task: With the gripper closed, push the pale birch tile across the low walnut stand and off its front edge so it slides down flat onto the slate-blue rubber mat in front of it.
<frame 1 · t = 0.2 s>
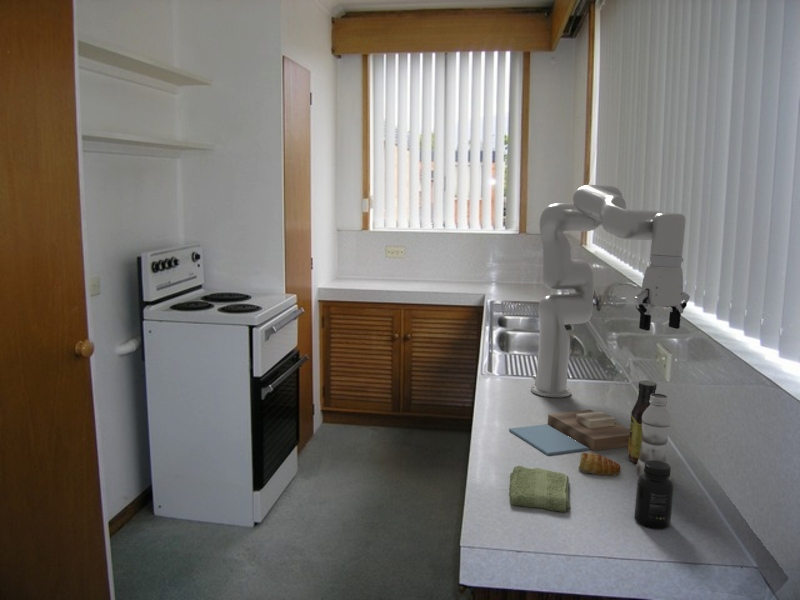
hand: (659, 328, 181), 30 cm above the table, tool pointing down, fingers open, 9 cm apart
birch tile: (595, 423, 189), point 3 cm above the table, touching walnut stand
plastic bottle: (650, 481, 161), on the table
washcloth: (538, 494, 153), on the table
supplement bottle: (651, 522, 141), on the table
walnut stand: (591, 434, 189), on the table
rubber mat: (547, 439, 184), on the table
sauce bottle: (640, 461, 172), on the table
pastry: (595, 471, 166), on the table
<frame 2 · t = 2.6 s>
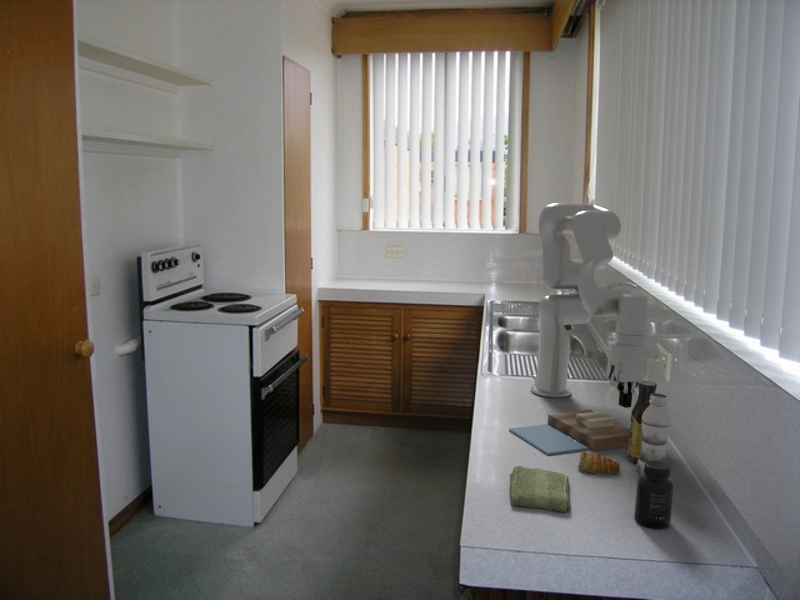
hand: (624, 406, 191), 7 cm above the table, tool pointing down, fingers closed
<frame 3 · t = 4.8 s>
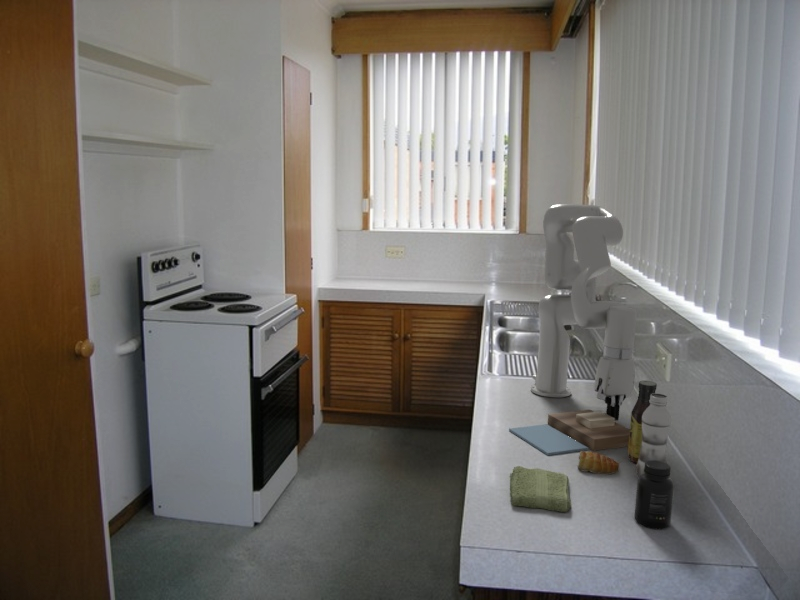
hand: (612, 418, 191), 4 cm above the table, tool pointing down, fingers closed
birch tile: (594, 423, 189), point 3 cm above the table, touching gripper, walnut stand
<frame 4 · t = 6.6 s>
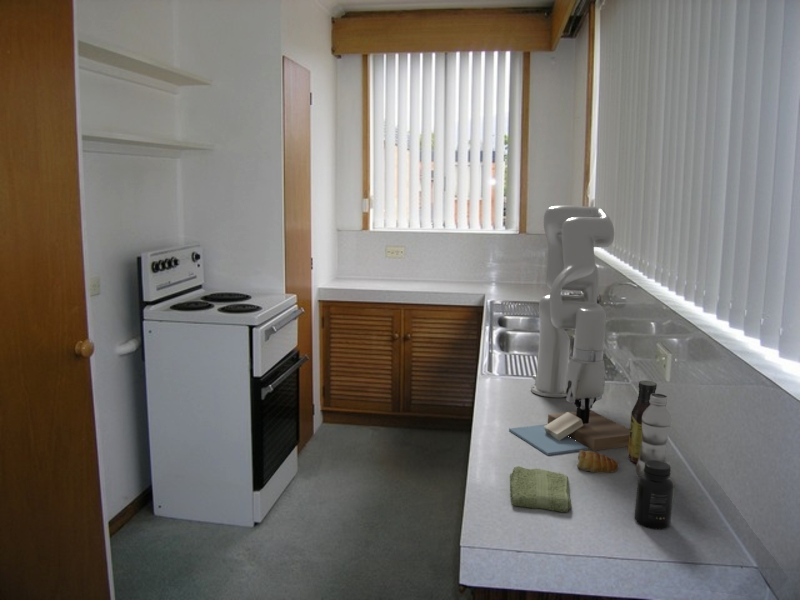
hand: (582, 422, 187), 4 cm above the table, tool pointing down, fingers closed
birch tile: (564, 429, 186), point 2 cm above the table, tilted 25°, touching rubber mat
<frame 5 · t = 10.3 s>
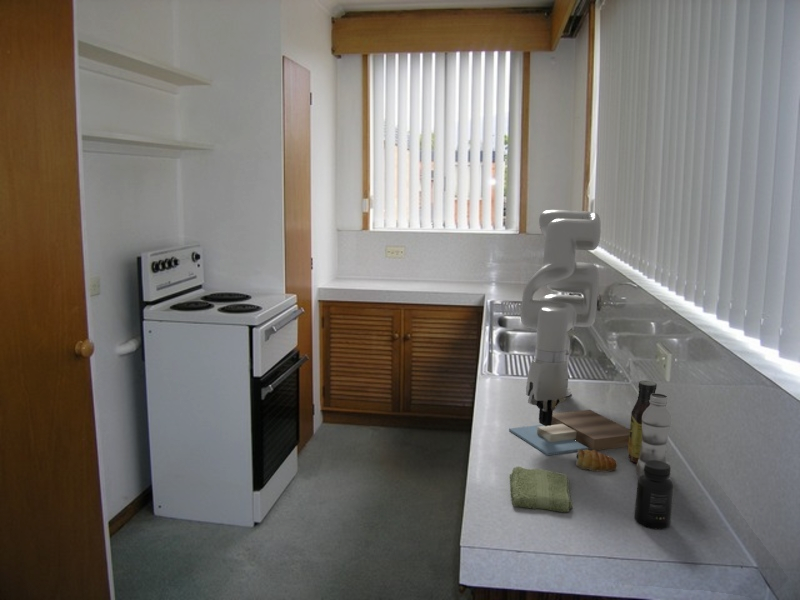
hand: (545, 424, 183), 4 cm above the table, tool pointing down, fingers closed
birch tile: (556, 436, 185), point 1 cm above the table, touching rubber mat
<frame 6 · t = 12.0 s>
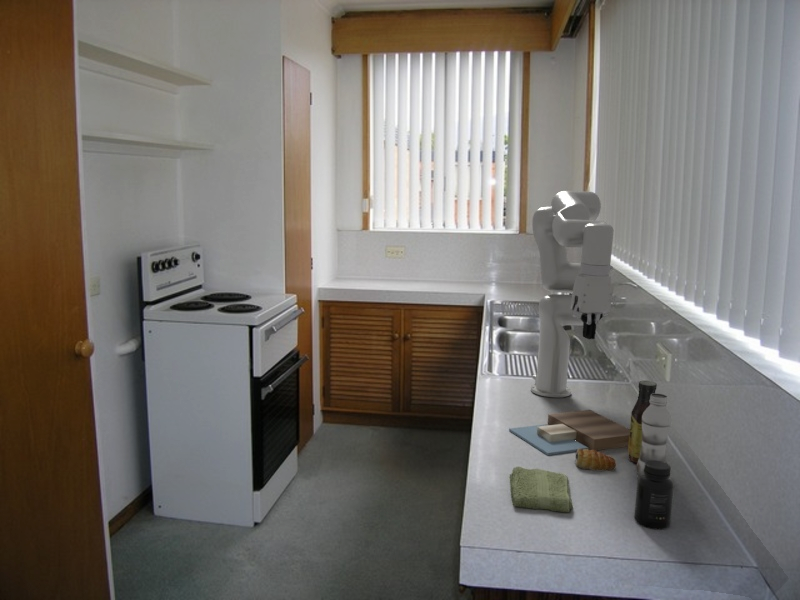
hand: (588, 337, 190), 25 cm above the table, tool pointing down, fingers closed
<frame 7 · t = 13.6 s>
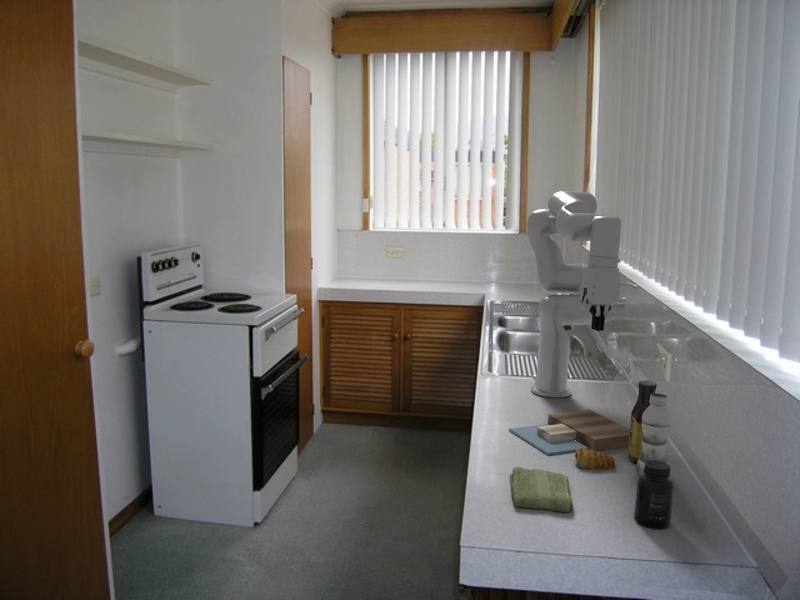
hand: (597, 329, 192), 27 cm above the table, tool pointing down, fingers closed
at the end: birch tile inside the target area on the rubber mat (2.9 cm from its centre), point 0.6 cm above the rubber mat's base; birch tile tilted 0° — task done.
